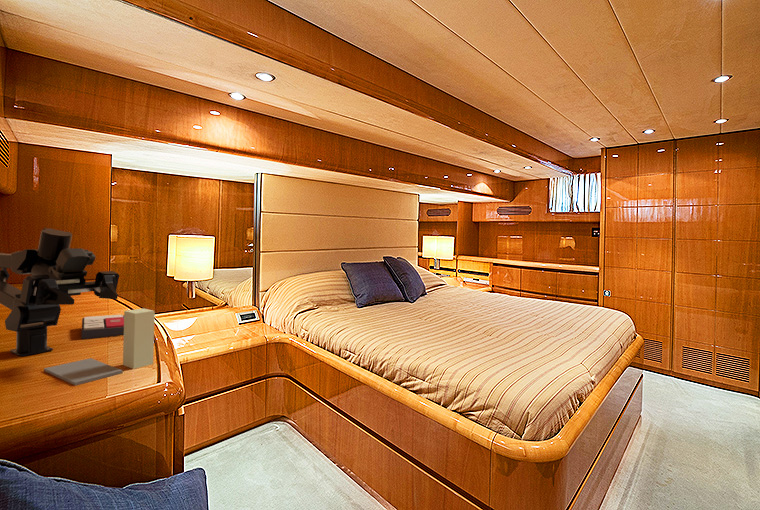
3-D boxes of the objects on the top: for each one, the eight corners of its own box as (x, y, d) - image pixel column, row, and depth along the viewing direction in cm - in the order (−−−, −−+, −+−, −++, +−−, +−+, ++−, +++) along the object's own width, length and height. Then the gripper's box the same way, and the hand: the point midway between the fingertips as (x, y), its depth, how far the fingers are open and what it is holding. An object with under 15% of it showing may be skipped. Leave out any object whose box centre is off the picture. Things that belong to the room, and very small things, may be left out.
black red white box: (81, 328, 107) (82, 315, 119) (81, 342, 108) (82, 328, 120) (127, 324, 114) (124, 312, 126) (127, 338, 114) (123, 325, 126)
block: (122, 365, 89) (124, 310, 89) (142, 360, 93) (143, 308, 93) (133, 369, 87) (135, 313, 87) (153, 363, 91) (154, 310, 91)
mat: (44, 371, 83) (44, 368, 83) (90, 360, 91) (90, 358, 91) (75, 385, 77) (75, 382, 77) (122, 372, 85) (122, 370, 84)
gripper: (12, 243, 81) (54, 268, 76) (103, 244, 98) (142, 264, 93) (4, 291, 83) (44, 319, 77) (95, 284, 100) (133, 306, 95)
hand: (96, 299), depth 86 cm, fingers open, 9 cm apart
